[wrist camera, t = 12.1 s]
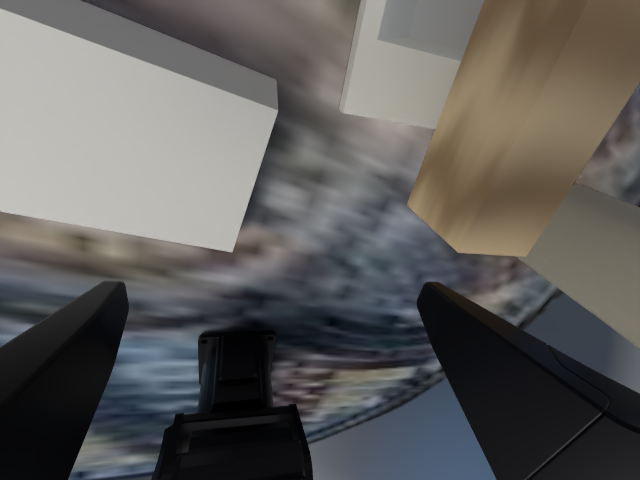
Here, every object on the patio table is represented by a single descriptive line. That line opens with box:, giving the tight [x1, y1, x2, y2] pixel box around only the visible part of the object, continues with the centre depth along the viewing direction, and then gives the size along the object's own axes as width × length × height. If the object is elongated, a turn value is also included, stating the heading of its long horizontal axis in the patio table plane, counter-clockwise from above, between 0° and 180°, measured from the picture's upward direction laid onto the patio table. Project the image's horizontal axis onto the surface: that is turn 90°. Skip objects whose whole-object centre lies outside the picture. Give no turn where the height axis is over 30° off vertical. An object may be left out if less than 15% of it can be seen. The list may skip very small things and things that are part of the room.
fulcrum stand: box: [339, 0, 484, 129], centre depth 15 cm, size 10×12×4 cm
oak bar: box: [407, 0, 640, 257], centre depth 11 cm, size 18×4×5 cm, turn 168°
